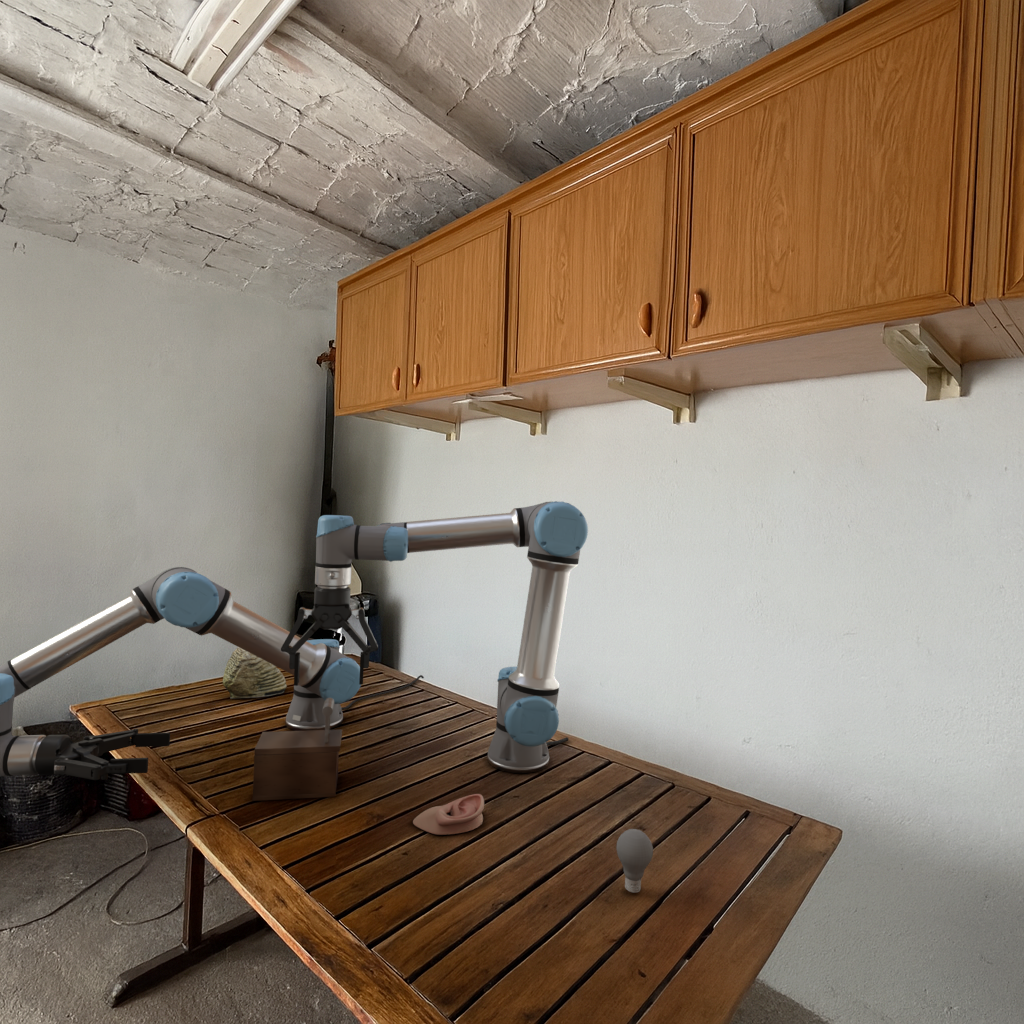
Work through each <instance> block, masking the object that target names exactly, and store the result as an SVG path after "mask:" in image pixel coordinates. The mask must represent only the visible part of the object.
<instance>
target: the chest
mask: <svg viewBox="0 0 1024 1024" xmlns="http://www.w3.org/2000/svg"><path fill="white" fill-rule="evenodd" d="M339 755H340V752H321V753H295V754H269V755H253V776H252V777H253V779H252V802H259V801H261V802H262V801H277V800H294V799H296V800H297V799H298V800H299V799H315V798H316V799H317V798H334V797H336V793H337V787H338V785H337V784H338V778H339V759H340V758H339V757H340V756H339Z"/></svg>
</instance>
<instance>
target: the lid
mask: <svg viewBox="0 0 1024 1024" xmlns="http://www.w3.org/2000/svg"><path fill="white" fill-rule="evenodd" d="M333 707H334V699H333V698H327V699H326V700H325V702H324V706H323V710H322V713H323V715H325V716H326V720H325V730H309V731H295V730H283V731H281V730H279V731H262V733H261V734H260V737H259V739H258V741H257V743H256V745H255V747H254V752H253V753H254V755H269V754H295V753H321V752H339V753H340V751H341V745H342V738H343V729H330V716H331V714H332V712H333ZM254 755H253V756H254Z"/></svg>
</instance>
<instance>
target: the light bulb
mask: <svg viewBox="0 0 1024 1024" xmlns="http://www.w3.org/2000/svg"><path fill="white" fill-rule="evenodd" d="M615 849H616V854H617V857H618V859H619V861H620V863H621V865H622V867H623V873H624V874H623V875H624V876H625V878H624V888H625V890H627V891H628V892H630V893H634V894H635V893H639V892H640V891H641V889H642V887H641V886H642V879H643V877H644V875H645V871H646V868H647V867H648V866H649V864H650V863H651V861H652V859H653V855H654V847H653V843H652V841H651V838H649V836H648V835H647V834H646V833H645V832H643V831H642V830H641V829H636V828H629V829H627V830H625V831H623V832H622V833H621V834H620V835H619V837H618V839H617V841H616V847H615Z"/></svg>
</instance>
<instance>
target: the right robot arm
mask: <svg viewBox="0 0 1024 1024" xmlns="http://www.w3.org/2000/svg"><path fill="white" fill-rule="evenodd" d="M354 522H355V521H354V518H353V516H351V515H339V514H323V515H321V516H320V517H319V518H318V520H317V531H316V535H315V538H316V539H315V541H316V544H315V547H316V548H315V569H314V571H315V573H314V585H316V587H315V588H314V594H313V595H314V597H313V599H314V600H313V608H312V609H310V608H306V607H304V606H301V607H300V608H299V609H298V613H297V619H296V621H295V622H294V624H293V626H292V628H291V629H290V631H289V632H290V633H289V635H288V637H287V638H286V640H285V642H284V644H283V645H282V647H281V651H282V652H286V653H288V654H289V655H290V658H289V668H290V669H294V675H293V687H294V686H298V683H299V668H300V652H297V651H298V650H299V649H300V648H301V646H302V645H303V644H304V643H305V642H306V641H308V640H310V638H311V637H312V636H313V635H314V633H316V632H317V631H318V630H319V629H322V630H323V631H324V630H326V631H327V630H334V631H335V630H337V631H338V630H340V629H341V628H342V629H343V631H345V632H346V633H347V634H348V636H349V637H350V638H351V639H352V640H353V641H354V643H355V644H356V645H357V646H358V647H359V649H360V650H361V651H360V659H359V666H360V679H359V685H361V686H362V685H364V669H369V667H370V655H371V653H373V652H377V651H378V650H379V644H378V642H377V640H376V639H375V637H374V634H373V632H372V629H371V627H370V625H369V623H368V621H367V618H366V616H365V615H366V614H365V608H364V607H359V608H355V609H351V587H350V585H351V584H352V562H353V560H356V561H357V560H358V561H359V560H361V561H363V560H364V561H383V562H385V561H386V562H390V563H392V562H402V561H405V560H406V559H407V558H408V554H412V553H424V552H435V551H444V550H445V551H447V550H456V549H457V550H459V549H469V548H480V547H491V546H493V547H494V546H503V545H513V546H515V548H527V547H528V548H527V555H526V558H527V559H528V561H529V563H530V564H531V566H532V567H531V573H530V579H529V585H528V593H527V599H526V606H525V612H524V619H523V626H522V632H521V637H520V638H521V639H520V647H519V652H518V658H517V664H516V666H506V667H503V668H501V669H499V671H498V677H497V681H496V682H497V701H496V724H495V725H496V726H495V731H494V734H493V735H492V739H491V741H490V744H489V746H488V750H487V762H488V763H489V765H490V766H492V767H493V768H495V769H497V770H499V771H503V772H506V773H512V774H531V773H536V772H540V771H542V770H544V769H546V768H547V767H548V766H549V764H550V752H549V748H548V747H549V746H556V745H560V744H564V743H566V742H568V741H569V740H570V739H569V737H567V736H566V737H563V738H562V739H559V740H552V738H553V737H554V736H555V734H556V733H557V730H558V728H559V724H560V723H559V722H560V714H559V710H558V709H557V705H558V699H559V691H560V683H559V681H558V680H557V679H556V677H555V674H556V673H555V672H556V665H557V659H558V653H559V645H560V642H561V641H560V640H561V634H562V627H563V620H564V615H565V614H564V613H565V608H566V602H567V601H566V600H567V594H568V588H569V581H570V575H571V572H572V570H574V569H575V568H576V567H578V566H579V561H580V555H581V549H582V548H583V547H584V546H585V543H586V542H587V540H588V535H589V526H588V522H587V520H586V516H585V515H584V513H582V511H581V510H580V509H579V508H577V507H576V506H574V505H573V504H572V503H570V502H565V501H558V500H555V501H545V502H542V503H538V504H534V505H529V506H524V507H515V508H512V509H511V511H510V512H505V513H491V514H482V515H481V514H480V515H471V516H470V515H469V516H460V517H445V518H435V519H425V520H413V521H411V520H410V521H403V522H401V521H399V522H383V523H380V524H378V525H361V524H360V525H358V524H355V523H354ZM309 616H311V617H312V619H314V623H313V624H312V625H311V626H310V627H309V628H308V629H307V630H306V631H305V632H304V633H303V635H302V636H301V637H300V639H299V640H298V641H297V642H296V644H295V645H294V646H293V647H292V646H289V645H290V643H291V641H292V639H293V638H294V636H295V635H297V633H298V631H299V629H300V627H301V625H302V624H303V622H304V620H307V619H308V617H309ZM352 616H354V617H355V619H356V620H359V624H360V626H361V628H362V630H363V632H364V635H365V637H366V639H367V641H368V643H369V645H368V644H367V643H366V641H364V638H362V637H361V635H359V633H358V632H357V631H356V630H355V628H354V627H353V626H352V624H351V623H350V622H349V621H348V620H349V619H350V618H351V617H352Z"/></svg>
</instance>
